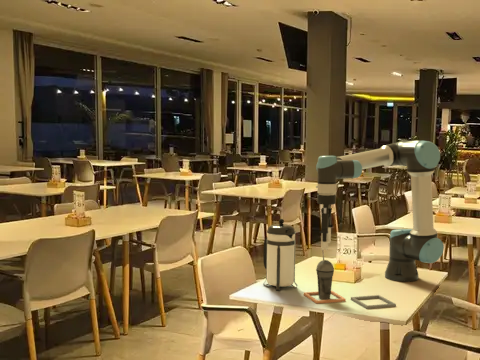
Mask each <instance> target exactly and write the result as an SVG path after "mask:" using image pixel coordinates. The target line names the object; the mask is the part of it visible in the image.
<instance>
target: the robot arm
mask: <svg viewBox="0 0 480 360" xmlns="http://www.w3.org/2000/svg"><path fill="white" fill-rule="evenodd" d="M440 160H441V152H440V149H439V147H438V146H437V145H436V144H435V143H434V142H432V141H429V140H401V141H397V142H393V143H390V144H389V143H388V144H386V145H382V146H380V148H376V149H371V150H367V151H361V152H356V153H352V154H346V155H341V156H336V155H320V156H318V158H317V163H316V165H315V167H316V168H315V169H316V172H317V177H316V179H317V185H316V186H315V188H316V189H317V190H316V191H317V195H316V198H317V199H316V203H317V204H318V205H322V207H321V209H320V212H321V224H320V225H321V227H320V230H318V232H319V234H321V235H320V250H321V251H322V250H323V251H324V250H326V251H329V244H332V240H331V239H332V228H333V224H332V212H333V211H332V210H333V209H332V208H331V207H332V205H336V204H337V195H336V194H337V180H340V179H342V180H347V179H352V180H353V179H358V178H360V177H361V175H362V174H363V170H365V169H366V170H367V169H371V168H376V167H381V166H384V167H390V166H391V167H392V166H399V167H400V166H401V167H406V172H407V174H408V175H409V176H410V184H411V186H410V188H411V205H412V206H411V207H412V209H411V210H412V226H413V227H412V228H399V229H398V228H397V229H392V230H391V231H390V233H389V234H390V235H389V258H388V259H389V261H388V263H387V267H385V268H386V269H385V271H384V277H385V278H386V279H387V280H391V281H397V282H416V281H418V280H419V271H418V267H417V265H416V261H418V262H421V263H424V264H425V263H427V264H434V263H436V262H437V261H439V260H440V258H441V257H442V255H443V253H444V250H445V249H444V248H445V247H444V243H443V241H442V239H440V238H439V237H438V230H436V229H435V228H434V208H433V207H434V206H433V186H432V185H433V184H432V175H433V174H434V173H435V170H436V167H437V166H438V165H439V162H440Z"/></svg>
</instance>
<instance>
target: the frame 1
mask: <svg viewBox="0 0 480 360" xmlns="http://www.w3.org/2000/svg"><path fill="white" fill-rule="evenodd" d="M315 295H318V296H319V294H318V291H307V292H305V291H304V292H303V296H304V297H306V298H308V300H310V301H312V302H313V303H315V304H329V303H330V304H331V303H341V302H342V301H344V302H346V300H347V298H345V297H343V296H342V295H340V294H338V293H336V292H335V291H333V290H331V295H332V296H334V297H335V296H336V297H335V298H332V299H331V298H330V299H326V300H325V299H320V300H319V299H316V298H315V297H313V296H315Z"/></svg>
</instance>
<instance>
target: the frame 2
mask: <svg viewBox="0 0 480 360" xmlns="http://www.w3.org/2000/svg"><path fill="white" fill-rule="evenodd" d="M370 299H371V300H372V299H373V300H374V299H379V300H381V302H382V301H383V302H384V303H382V304H370V305H367V304H366V303H364V302H362V301H361V300H370ZM350 300H351V301H353V302H354V303H356V304H357V305H359V306H361V307H362V308H364V309H366V310H368V309H370V310H372V309H380V308H394V307H396V306H397V303H395V302H393V301H391V300H390V299H388V298H385V297H384V296H381V295H380V294H376V295H375V294H374V295H362V296H350Z"/></svg>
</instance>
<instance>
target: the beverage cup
mask: <svg viewBox="0 0 480 360" xmlns="http://www.w3.org/2000/svg"><path fill="white" fill-rule="evenodd" d="M321 251H322V252H321V253H322V260H320V261H319V262H318V263H317V266H316V269H315V271H316V276H317V292H318V298H319V299H320V300H329V299H331V295H332V294H331V291H332V284H333V277H334V272H335V269H334V264H333V263H332V262H331V261H329V260H327V259H325V254H324V250H321Z"/></svg>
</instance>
